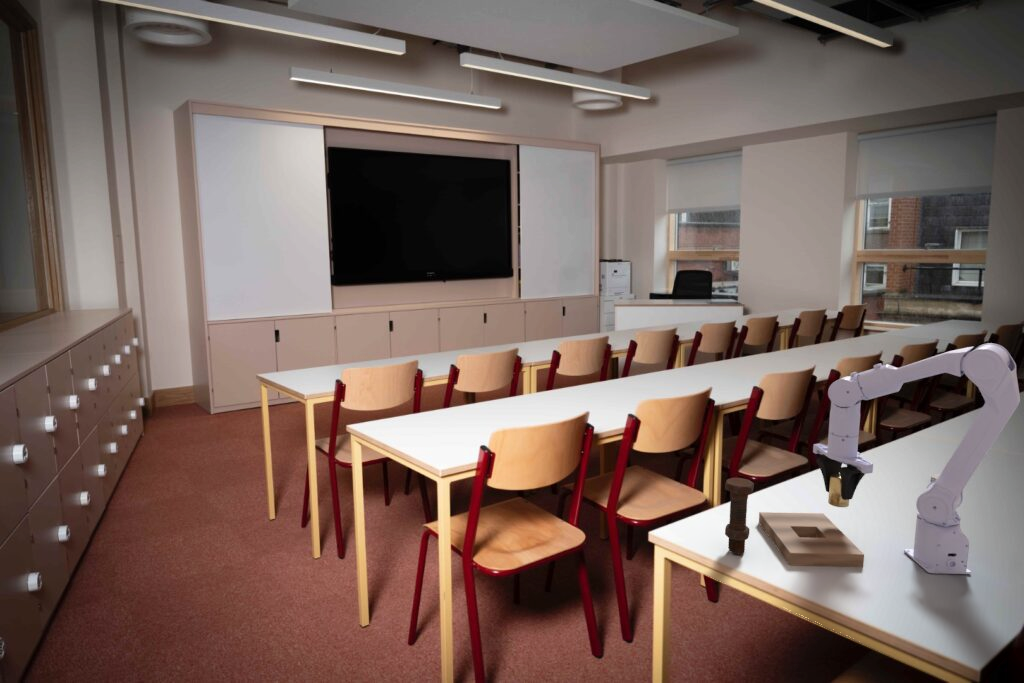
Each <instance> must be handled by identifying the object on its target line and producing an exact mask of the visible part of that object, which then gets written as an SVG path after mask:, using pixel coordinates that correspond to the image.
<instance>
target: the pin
mask: <svg viewBox="0 0 1024 683" xmlns="http://www.w3.org/2000/svg"><path fill="white" fill-rule="evenodd" d="M827 498H828V501H827V503H828V504H829V505H830V506H832V507H836V508H848V507H849V506H850V499H849V500H843V499H842V482H841V476H840V473H839V474H831V475H830V485H829V492H828V497H827Z"/></svg>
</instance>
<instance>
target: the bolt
mask: <svg viewBox="0 0 1024 683" xmlns="http://www.w3.org/2000/svg"><path fill="white" fill-rule="evenodd" d="M754 487H755V483H754V482H753V481H751V480H750V479H746V478H742V477H731V478H728V479H726V481H725V485H724V489H725V490H726V491H727V492H729V494H730V495H729V497H730V503H729V504H730V506H729V522H728V523H727V524H726V526H725V531H724V535H725V536H726V537H727V538H728V545H727V546H728V550H729V552H730V551H731V552H730V553H731V554H732V555H734V556H738V555H739V556H741V554H742V555H744V554H745V548H746V547H745V546H746V540H748V539H749V537H750V527H748V526H747V512H748V509H747V508H748V499H749V494H750V495H751V494H753V491H754V490H755V488H754Z"/></svg>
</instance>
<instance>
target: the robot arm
mask: <svg viewBox="0 0 1024 683" xmlns="http://www.w3.org/2000/svg"><path fill="white" fill-rule="evenodd" d="M973 348H974V349H973ZM972 349H973V350H972ZM944 373H945V374H950V375H953V376H956V377H960V378H961V377H962V376H963V375H965V377H967V378H968V379H969V380H970V381H971V382H972V383H973V384H974V385H975V386H976V387H977V388H978V390H979V392H980V393H981V396H982V397H983V400H984V404H983V406H982V407H981V409H980V411H979V413H978V414H977V415H976V417H975V419H974V420H973V421H972V424H971V425H970V427H969V428H968V430H967V431H966V433H965V435H964V436H963V437H962V440H961V441H960V442H959V444H958V446H957V447H956V449H955V451H954V452H953V454H952V455H951V457H950V458H949V460H948V462H947V463H946V465H945V466H944V468H943V469H942V471H941V473H939V474H940V476H939V477H938V479H937V480H935V481H933V482H931V481H930V483H929V484H928V485H927V486H926V489H925V490H924V492H922V493H921V494H920V495H919V496H918V497H917V500H916V504H915V505H916V510H917V512H916V522H915V533H914V541H913V542H914V544H913V548H904V550H903V552H904V553H905V554H906V555H908V556H909V557H910V558H911V559H912V560H913V561H914V562H916V563H917V564H918V565H919V566H920V567H921V568H922V569H924V571H925V572H927V573H928V574H944V575H945V574H947V575H948V574H950V575H951V574H952V575H971V574H972V571H971V570H970V569H968V568H967V567H968V561H969V560H968V559H969V550H970V542H969V538H968V537H967V536H966V534H965V533H964V532H963V531H962V529H961V517H960V516H959V514H958V512H957V510H958V508H959V507H960V506H961V504H962V503H963V500H964V494H963V493H964V490H965V488H966V486H967V485H968V483H969V481H970V480H971V478H972V477H973V476H974V475H975V474H974V473H975V472H977V469H978V468H979V466H980V464H981V463H982V462H983V460H984V459H985V457H986V455H987V454H988V452H989V451H990V449H991V448H992V446H993V445H994V443H995V442H996V440H998V437H999V435H1000V434H1001V433H1002V431H1003V429H1004V428H1005V426H1006V425H1007V423H1008V421H1009V420H1010V419H1011V417H1012V415H1013V414H1014V412H1015V411H1016V410H1017V408H1018V406H1019V404H1020V402H1021V396H1020V389H1019V383H1018V382H1019V381H1018V377H1017V376H1018V375H1017V364H1016V362H1015V360H1014V359H1013V357H1012V356H1011V353H1010V352H1009V350H1008V349H1006V348H1005V347H1004V346H1003V345H1001V344H997V343H992V342H990V343H989V342H987V343H983V344H981V345H978V346H977V347H975V346H967V347H963V348H958V349H954V350H949V351H946V352H943V353H942V352H941V353H939V354H935V355H934V356H930V357H927V358H925V359H921V360H918V361H915V362H912V363H909V364H907V365H902V366H900V367H896V366H894V365H891V364H889V363H887V364H884V365H883V364H882V362H881V363H877V364H874V365H873V368H871V369H868V370H864V371H860V372H857V371H854V372H851V373H850V374H849V376H848V375H847V376H843V377H842V378H839V379H837V380H835V381H834V382H832V383H831V384H830V385H829V387H828V389H827V390H828V391H827V396H828V399H829V400H830V411H829V421H828V422H829V424H828V435H827V436H828V438H827V444H823V443H814V444H813V446H812V453H814V454H815V455H817V454H819V455H821V457H819V458H816V464H817V465H818V467H819V470H820V472H821V475H822V478H823V483H824V488H825V492H827V493H829V485H830V475H831V474H840V476H841V482H842V499H843V500H849V501H850V500H853V498H854V494H855V491H856V489H857V487H858V485H859V484H860V481H861V480H862V479H863V478H864V477H865V475H866V474H872V473H873V472H874V471H873V470H874V463H872V462H870V461H868V460H866V459H865V458H863V457H862V456H861V453H860V452H859V451H858V448H859V447H858V446H859V437H860V436H859V434H860V425H861V424H860V423H861V401H862V400H863V401H869V400H872V399H876V398H880V397H883V396H887V395H890V394H894V393H898V392H899V391H900V390H902V386H903V385H904V384H905V383H909V382H912V381H917V380H921V379H924V378H929V377H932V376H933V377H934V376H937V375H940V374H941V375H942V374H944ZM842 465H846V466H842Z"/></svg>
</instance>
